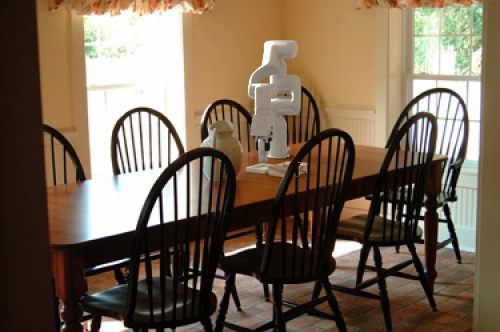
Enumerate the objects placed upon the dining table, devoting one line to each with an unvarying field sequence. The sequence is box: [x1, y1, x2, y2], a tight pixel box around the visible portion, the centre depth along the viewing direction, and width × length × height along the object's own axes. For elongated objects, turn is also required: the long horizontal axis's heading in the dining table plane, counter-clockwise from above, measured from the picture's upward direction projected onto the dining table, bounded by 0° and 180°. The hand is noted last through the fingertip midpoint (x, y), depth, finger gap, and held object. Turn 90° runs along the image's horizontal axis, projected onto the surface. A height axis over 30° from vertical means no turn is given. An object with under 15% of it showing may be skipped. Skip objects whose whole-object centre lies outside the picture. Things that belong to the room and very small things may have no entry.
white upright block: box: [257, 136, 269, 163], centre depth 349 cm, size 4×4×11 cm
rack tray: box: [245, 162, 274, 175], centre depth 351 cm, size 13×11×2 cm
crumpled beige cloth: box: [268, 160, 308, 178], centre depth 343 cm, size 16×12×4 cm
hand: (263, 149), depth 349 cm, fingers closed on white upright block, 4 cm apart
